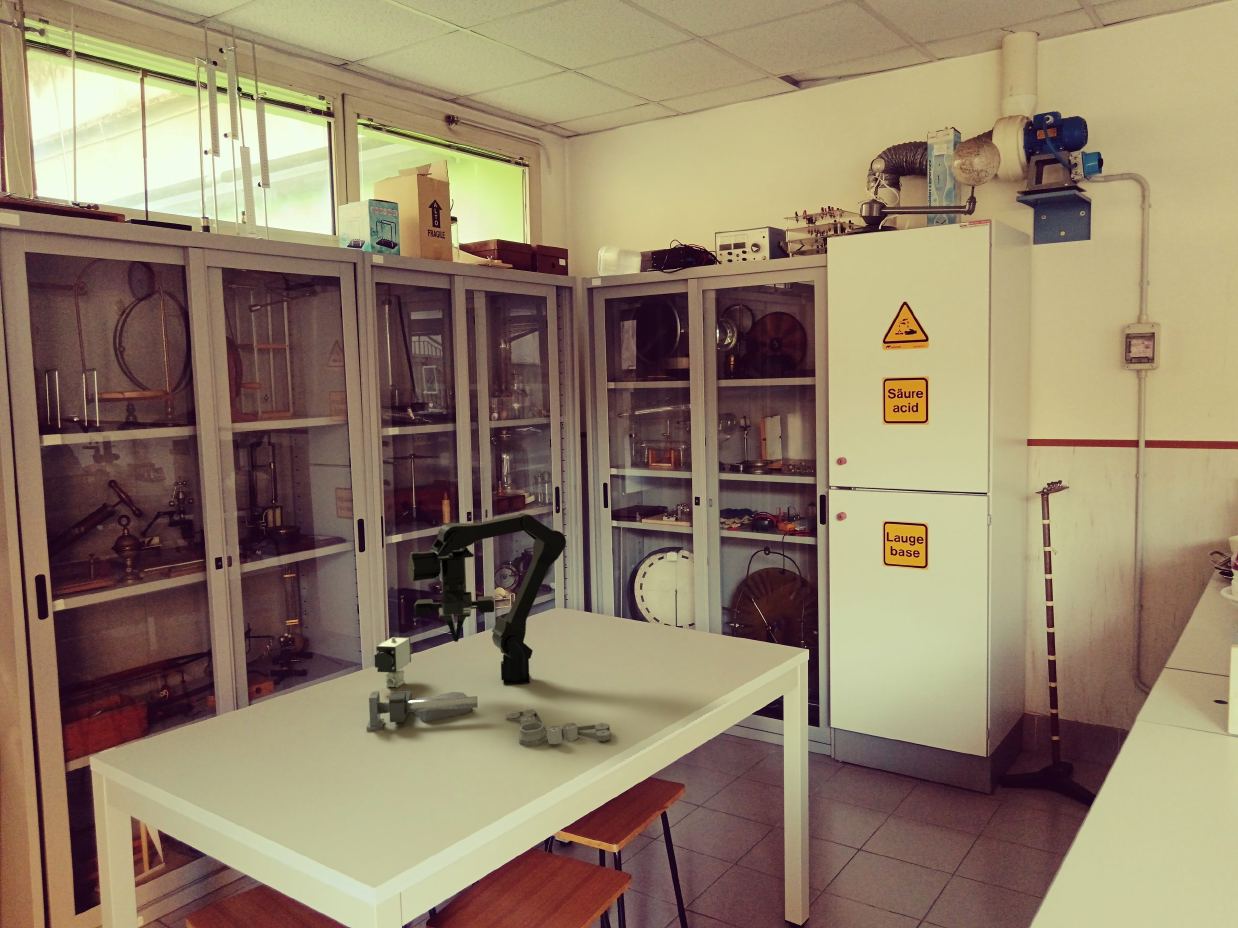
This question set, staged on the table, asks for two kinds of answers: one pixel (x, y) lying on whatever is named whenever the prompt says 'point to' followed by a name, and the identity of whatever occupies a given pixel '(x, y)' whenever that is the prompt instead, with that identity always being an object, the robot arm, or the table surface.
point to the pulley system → (553, 730)
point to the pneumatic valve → (393, 659)
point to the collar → (398, 705)
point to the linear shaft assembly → (415, 707)
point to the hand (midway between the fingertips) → (456, 641)
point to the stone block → (442, 713)
